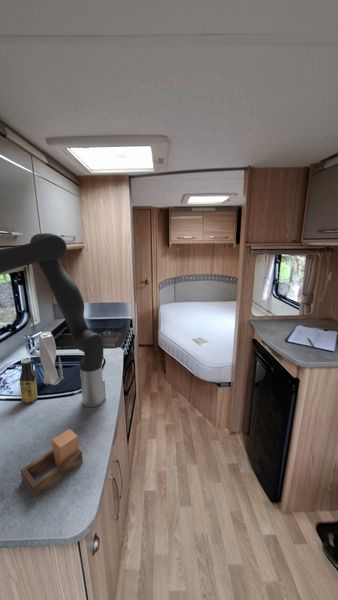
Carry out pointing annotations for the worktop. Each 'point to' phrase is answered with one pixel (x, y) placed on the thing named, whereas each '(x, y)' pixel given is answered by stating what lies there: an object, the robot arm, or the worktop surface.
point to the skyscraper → (49, 359)
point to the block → (65, 446)
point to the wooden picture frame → (53, 475)
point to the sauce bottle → (28, 383)
